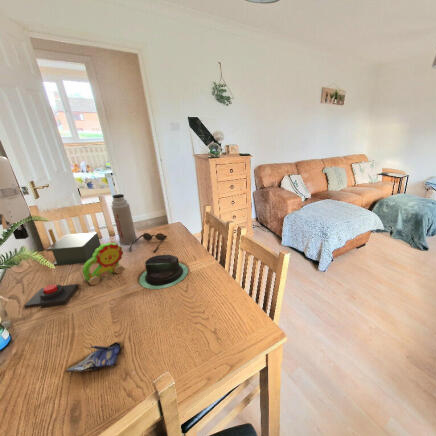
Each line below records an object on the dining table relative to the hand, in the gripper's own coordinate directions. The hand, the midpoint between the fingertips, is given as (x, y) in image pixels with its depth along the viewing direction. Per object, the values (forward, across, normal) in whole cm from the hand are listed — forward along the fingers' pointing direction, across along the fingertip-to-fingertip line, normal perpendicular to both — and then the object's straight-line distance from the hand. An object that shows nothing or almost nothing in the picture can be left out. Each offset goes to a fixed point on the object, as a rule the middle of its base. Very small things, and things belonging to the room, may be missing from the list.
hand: (22, 238), depth 91 cm
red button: (+19, +10, +9) cm, 23 cm away
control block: (+22, +10, +9) cm, 26 cm away
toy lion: (+22, -2, +23) cm, 32 cm away
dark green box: (+22, -24, +4) cm, 33 cm away
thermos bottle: (+22, -36, +22) cm, 48 cm away
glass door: (+21, -28, -4) cm, 35 cm away
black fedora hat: (+22, +3, +47) cm, 52 cm away
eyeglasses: (+22, -28, +34) cm, 49 cm away
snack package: (+22, +45, +37) cm, 62 cm away
